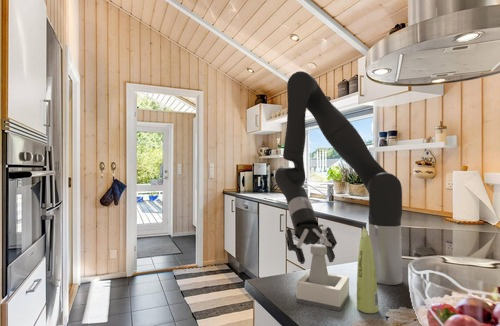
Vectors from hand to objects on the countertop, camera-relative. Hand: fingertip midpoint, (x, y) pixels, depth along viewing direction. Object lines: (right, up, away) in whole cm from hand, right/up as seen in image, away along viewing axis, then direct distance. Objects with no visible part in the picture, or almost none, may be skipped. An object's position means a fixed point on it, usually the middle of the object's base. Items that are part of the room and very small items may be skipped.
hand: (317, 261), depth 84 cm
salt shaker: (0, -8, -3) cm, 8 cm away
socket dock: (+1, -9, -4) cm, 9 cm away
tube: (+10, -9, -10) cm, 16 cm away
